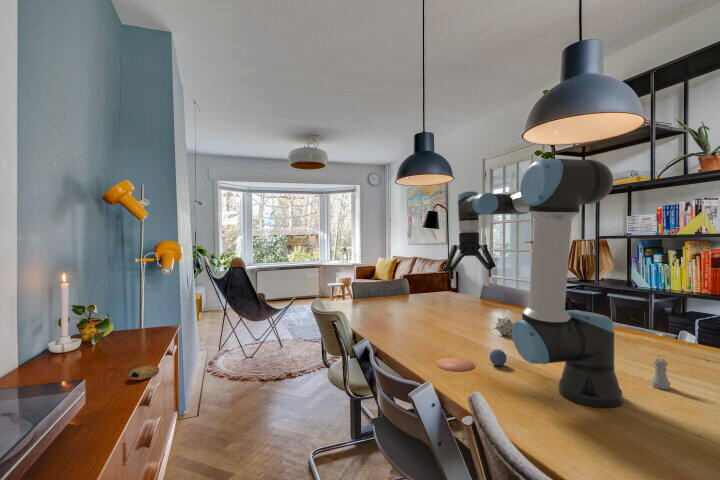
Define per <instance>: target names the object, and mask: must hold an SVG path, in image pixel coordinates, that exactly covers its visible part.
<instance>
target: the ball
mask: <svg viewBox="0 0 720 480" xmlns="http://www.w3.org/2000/svg"><path fill="white" fill-rule="evenodd" d="M507 359H508V358H507V354H506V353H505V352H504V350H502V349H499V348H497V349H496V348H495V349H493V350H491V352H490V354H489V360H490V362H491V363H492V364H493V365H495V366H497V367H498V366H499V367H500V366H501V367H502V366H504V365H505V364H506V363H507Z"/></svg>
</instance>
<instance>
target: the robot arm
mask: <svg viewBox="0 0 720 480" xmlns="http://www.w3.org/2000/svg"><path fill="white" fill-rule="evenodd" d="M613 186H614V175H613V173H612V170H610V168H609V167H608V166H607V165H605V163H602V162H601V161H599V160H595V159H585V158H584V159H577V158H576V159H575V158H574V159H573V158H547V159H545V158H544V159H539V160H536V161H534V162H533V163H531V164H530V165H529V166H528V168H527V169H526V170H525V171H524V173H523V175H522V178H521V182H520V186H519V191H518V192H513V193H492V192H480V193H478V192H477V191H472V190H471V191H461V192H459V193H458V196H457V211H458V213H457V214H458V231H459V233H458V241H459V242H458V245H457V244H452V245H451V247H450V252H449V254H448V256H447V258H446V261H445V264H444V265H443V269H445V270H447V271H448V278H449V279H450V282H451V283H450V286H451V288H452V289H456V288H457V274H456V273H457V272H456V270H455V269H456V268H457V266H458V264H459V263H461V261H462V260H463V258H464V257H476V259H477V260H478V261H479V262H480V263H481V264H482V265H483V267H484V269H483V286H484V287H490V278H491V277H492V270H493V269H494V268H496V266H497V265H496V264H495V261H494V259H493V257H492V255H491V253H490V251H489V249H488V244H487V243H481V244H480V232H478V231H480V224H479V223H480V222H479V221H480V220H479V219H480V218H479V217H480V216H485V215H487V216H488V215H490V216H491V215H492V216H494V215H527V214H530V215H531V216H532V217H533V218H534V222H533V239H532V253H531V254H532V255H531V269H530V287H529V299H528V300H529V301H528V302H529V303H528V305H527V306H526V307H524V308H523V309H522V316H521V317H522V318H521V319H518V320H516V321H514V323H513V327H512V335H511V337H512V340H513V341H512V342H513V344H514V347H515V349H516V351H517V352H518V354H519V355H520V357H521V358H522V359H523V360H524V361H526V362H527V363H529V364H532V365H533V364H534V365H538V364H540V365H548V364H553V363H554V364H556V363H562V362H564V367H563V371H562V374H561V378H560V379H559V381H558V392H559V394H560V395H561V396H562V397H564V398H566V399H567V400H569V401H572V402H574V403H577V404H581V405H584V406H587V407H594V408H595V407H596V408H616V407H620V406H621V405H622V404H623V403H622V402H623V401H624V399H623V392H622V389H621V387H620V385H619V381H618V378H617V375H616V372H615V335H616V333H615V330H614V321H613V319H611V318H610V317H609V316H607V315H603V314H600V313H596V312H595V313H594V312H588V311H584V310H575V309H573V310H572V309H567V310H566V301H567V299H566V297H567V287H568V272H569V260H570V247H571V234H572V233H571V232H572V221H573V219H574V218H575V217H576V216H578V214H580V208H581V207H580V206H583V205H585V206H586V205H593V204H596V203H599V202H601V201H602V200H604V199H606V197H607V196H609V194H610V193H611V191H612V188H613ZM458 250H459V253H458V254H457V256H456V257H455V255H456V253H457V251H458ZM479 250H481V251H482V253H481V252H480V251H479ZM482 254H483V255H484V257H483V255H482ZM454 258H455V259H454Z"/></svg>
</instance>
